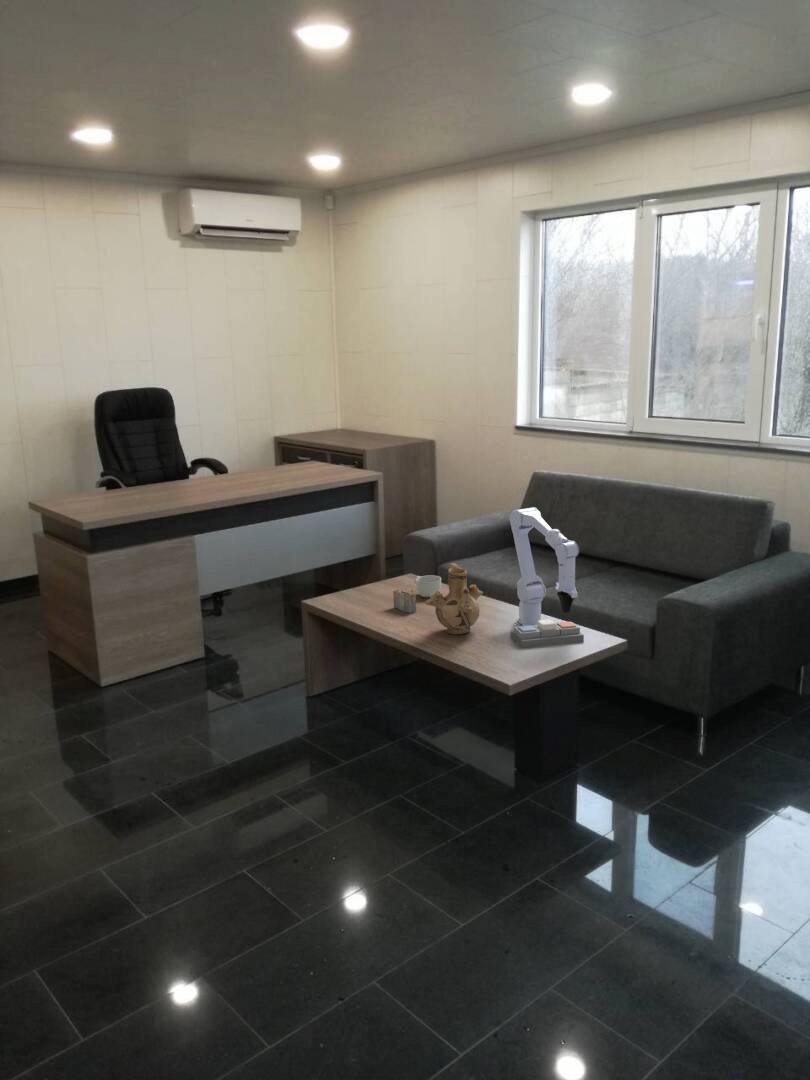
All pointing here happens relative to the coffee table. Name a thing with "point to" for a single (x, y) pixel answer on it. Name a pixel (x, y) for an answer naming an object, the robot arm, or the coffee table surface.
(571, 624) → the salmon pink key
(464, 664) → the coffee table surface
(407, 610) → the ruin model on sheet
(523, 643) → the key panel
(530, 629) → the blue key
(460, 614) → the ceramic vessel
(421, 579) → the teacup
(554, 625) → the white key
